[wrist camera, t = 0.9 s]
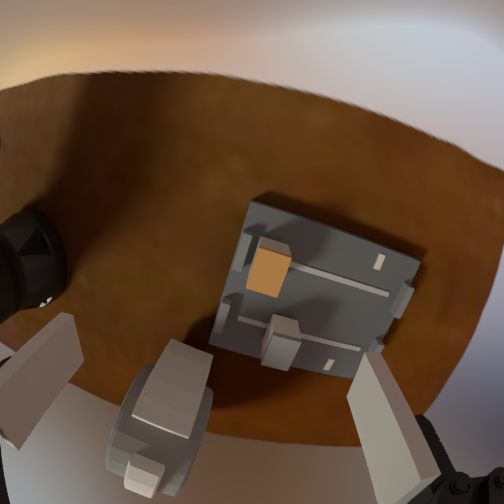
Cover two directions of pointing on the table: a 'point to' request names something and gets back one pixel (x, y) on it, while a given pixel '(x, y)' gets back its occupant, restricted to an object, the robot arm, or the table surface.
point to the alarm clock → (162, 422)
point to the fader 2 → (280, 342)
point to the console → (315, 292)
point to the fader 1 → (269, 267)
